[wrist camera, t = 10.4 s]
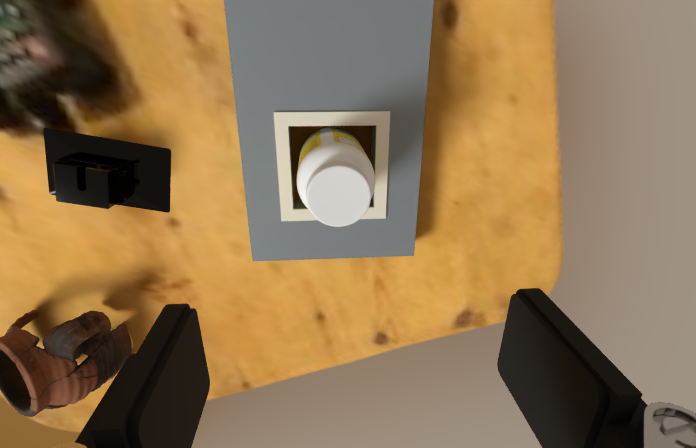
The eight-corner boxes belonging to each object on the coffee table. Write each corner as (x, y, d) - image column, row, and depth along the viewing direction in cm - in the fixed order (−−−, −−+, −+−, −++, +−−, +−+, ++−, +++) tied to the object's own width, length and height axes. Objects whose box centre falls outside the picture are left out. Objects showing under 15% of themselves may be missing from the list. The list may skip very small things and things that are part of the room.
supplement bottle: (305, 194, 33) (302, 243, 24) (294, 131, 31) (285, 159, 22) (367, 184, 33) (386, 230, 24) (360, 121, 31) (377, 145, 22)
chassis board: (230, -5, 27) (222, -11, 25) (425, -2, 28) (435, -8, 26) (256, 248, 35) (252, 262, 32) (408, 243, 36) (414, 256, 33)
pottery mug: (121, 384, 40) (31, 444, 33) (68, 317, 42) (-29, 360, 34) (161, 328, 34) (62, 386, 27) (98, 251, 36) (-12, 287, 28)
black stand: (192, 142, 31) (172, 154, 27) (188, 223, 34) (170, 245, 30) (25, 112, 29) (-24, 120, 25) (35, 200, 32) (-7, 221, 28)
